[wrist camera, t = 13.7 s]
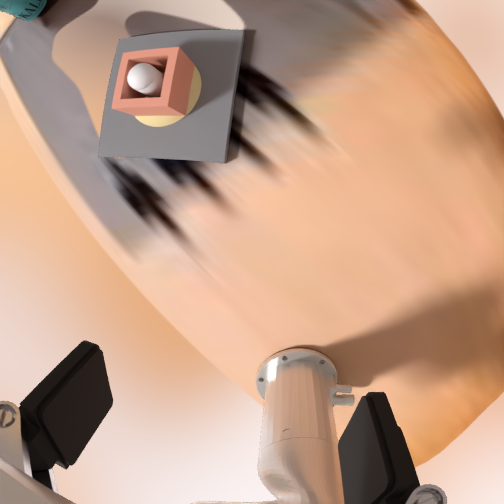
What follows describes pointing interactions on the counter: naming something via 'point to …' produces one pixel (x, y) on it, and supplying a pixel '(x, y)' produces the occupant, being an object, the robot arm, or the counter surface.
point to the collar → (173, 86)
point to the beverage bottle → (23, 8)
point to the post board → (199, 104)
